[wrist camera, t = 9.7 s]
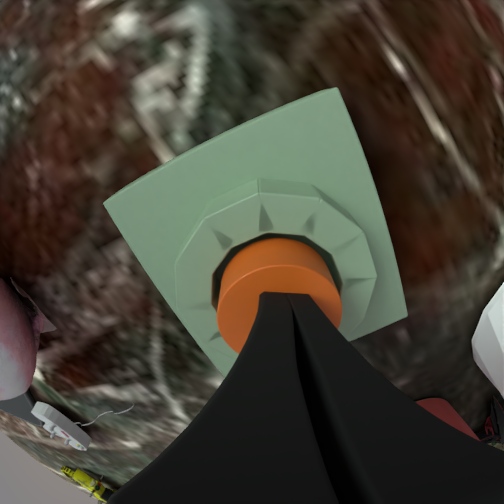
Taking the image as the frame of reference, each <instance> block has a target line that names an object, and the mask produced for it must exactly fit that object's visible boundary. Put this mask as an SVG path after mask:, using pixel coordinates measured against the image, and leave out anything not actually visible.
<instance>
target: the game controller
mask: <svg viewBox="0 0 504 504" xmlns="http://www.w3.org/2000/svg"><path fill="white" fill-rule="evenodd" d="M133 407H134V402H133V406H132V407H130V408H129V409H127V410H125V411H123V412H119V413H115V414H120V413H124V412H126V411H128V410H130V409H132V408H133ZM109 412H113V411H108V412H105V413H102V414H100V415H99V416H97V417H96V419H95V420H94V421H92V422H91V423H93V422H95V421H96V420H97V418H98V417H100V416H101V415H103V414H106V413H109ZM31 413H32V414H33V415H34V416H36V417H37V418H38V419H40V420H42V421H43V422H45V424H44V426H43V427H44V428H45V429H46V430H47V431H49V432H50V433H52V434H51V435H50V437H51V438H54V435H58V436H61V437H64V438H66V441H65V442H64V444H65V445H68V444H70V445H72V446H73V447H75V448H76V449H79V450H87V448H88V446H89V444H90V442H91V440H92V439H91V438H90V437H89V436H88V435H87V434H86V433H85V432H84V431H83V430H82V429H81V428H79V427H78V426H77V425H76V424H77V423H80V422H77V423H73V422H72V421H71V420H69V419H68V418H67V417H65V416H64V415H63V414H62V413H60V412H59V411H57V410H56V409H55V408H53V407H52V406H50V405H48V404H46V403H42V402H38V401H37V403H36V405H35V406H34V408H33V409H32V411H31ZM91 423H88V424H84V425H83V426H85V425H89V424H91ZM80 424H81V423H80Z"/></svg>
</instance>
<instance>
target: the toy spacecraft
mask: <svg viewBox="0 0 504 504" xmlns="http://www.w3.org/2000/svg"><path fill="white" fill-rule="evenodd" d="M493 400H494V406H495V411H496V413H494V410H493V406H492V402H491V399H490V403H491V408H490V414H491V416H490V417H489V418H487V421H486V423H485V424H484V426H485V430H484V431H482V432H480V433H478V434H477V433H476V432H475V433H476V436H477V437H478V439H479V440H480V441H481V442H483V443H485V444H488V443H490V442H492V445H495V444H496V443H501V442H502V445H503V443H504V409H502V407H501V405H500V404H499V402H498V401H497V400H496V398H495V397H494V395H493ZM495 414H496V416H497V420H498V424H497V420H496V418H495ZM490 418H491V419H492V422H491V419H490ZM489 421H490V424H491V426H490V424H489ZM487 422H488V425H489V426H486V424H487ZM492 423H493V424H492ZM487 428H488V429H487ZM502 448H503V446H502Z"/></svg>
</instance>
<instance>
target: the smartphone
mask: <svg viewBox="0 0 504 504" xmlns="http://www.w3.org/2000/svg"><path fill="white" fill-rule="evenodd" d="M35 405H36V403H35V401H34V399H33V397H32V395H31V394H30V392H29V390H27V391H26V392H25V393H23V394H21V395H19V396H17V397H15V398H12V399H8V400H1V401H0V410H1V411H3V412H6V413H8V414H10V415H12V416H15V417H17V418H19V419H22V420H24V421H26V422H29V423H31V424H34V425H37V426H40V427H42V426H44V424H45V422H43V421H42V420H40V419H38V418H37V417H36V416H34V415H33V414H32V413H31V411H32V409H33V408H34V406H35Z"/></svg>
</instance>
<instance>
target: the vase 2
mask: <svg viewBox="0 0 504 504" xmlns="http://www.w3.org/2000/svg"><path fill="white" fill-rule="evenodd" d="M471 341H472V349H473V358H474V361H475V362H476V363H477V365H478V367H479V368H480V369H481V370H482V372H483V373H484V374H485V375H486V377H487V378H488V379H489V380H490V381H491V382H492V384H493V385H494V386H495V387H496V388H497V389H498V391H499V392H500V393H501V395H502V397H503V399H504V282H503V284H502V285H501V287H500V288H499V290H498V291H497V292H496V294H495V295H494V296H493V298H492V299H491V301H490V302H489V303H488V305H487V306H486V307H485V308H484V310H483V313H482V315H481V318H480V320H479V323H478V326H477V328H476V331H475V333H474V335H473V338H472V340H471Z"/></svg>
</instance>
